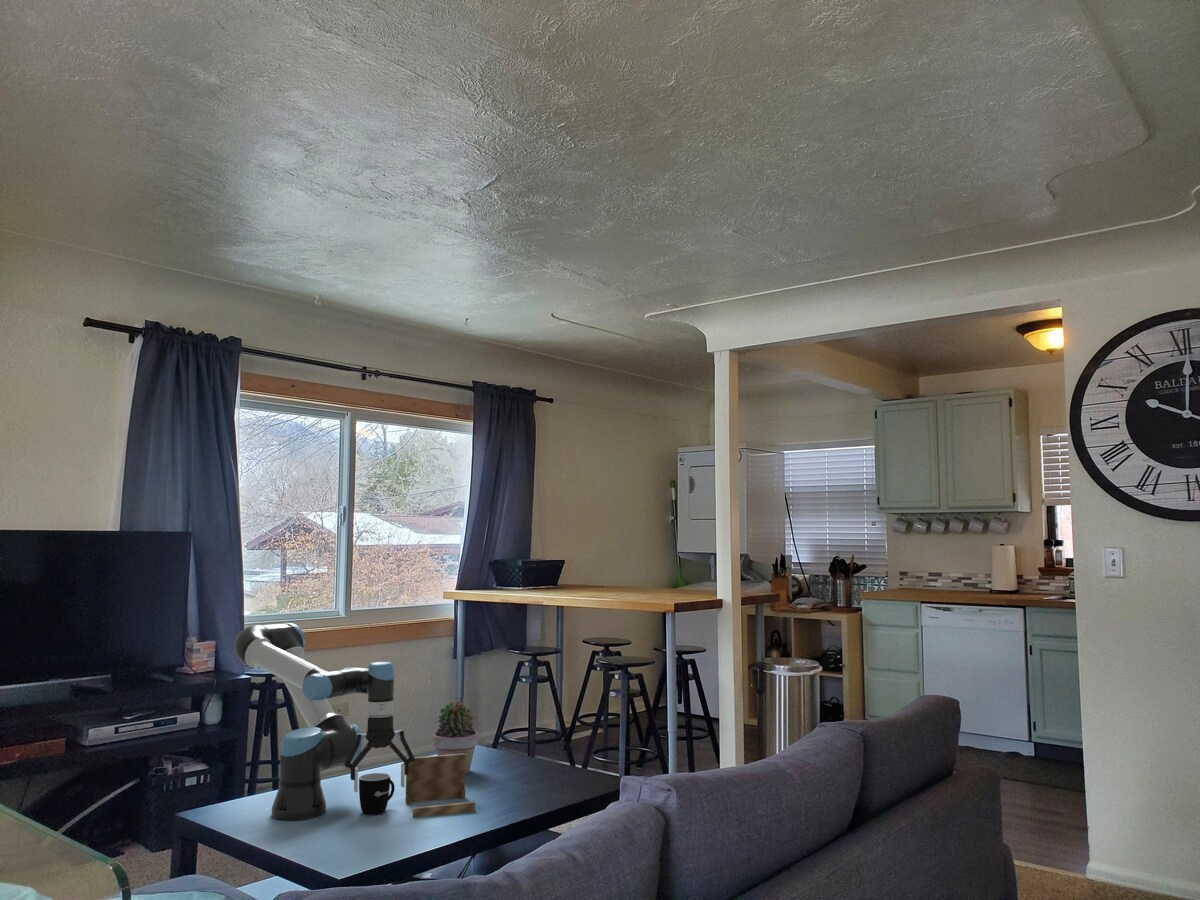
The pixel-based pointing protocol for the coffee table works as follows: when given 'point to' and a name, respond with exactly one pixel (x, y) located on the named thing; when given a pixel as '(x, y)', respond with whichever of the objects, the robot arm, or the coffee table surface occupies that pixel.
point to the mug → (375, 792)
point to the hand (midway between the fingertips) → (379, 789)
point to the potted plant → (456, 733)
